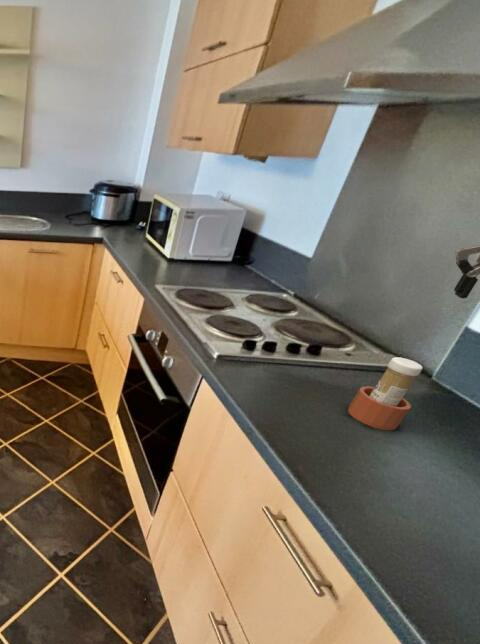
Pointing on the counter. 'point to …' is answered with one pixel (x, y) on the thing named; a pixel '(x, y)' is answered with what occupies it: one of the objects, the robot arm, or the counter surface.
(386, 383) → the sprinkles bottle
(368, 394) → the holder
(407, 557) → the counter surface
